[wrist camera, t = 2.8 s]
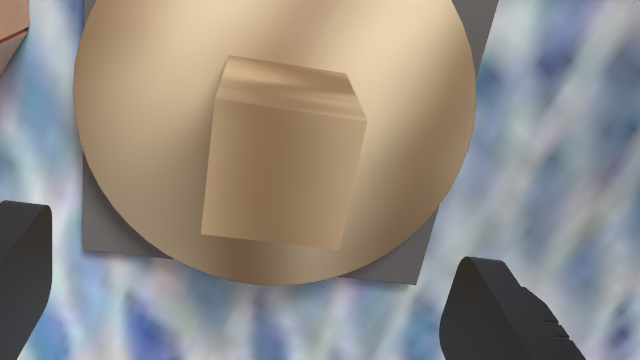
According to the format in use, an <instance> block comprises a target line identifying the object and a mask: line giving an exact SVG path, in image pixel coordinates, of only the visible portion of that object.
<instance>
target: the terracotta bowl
mask: <svg viewBox="0 0 640 360" xmlns="http://www.w3.org/2000/svg"><path fill="white" fill-rule="evenodd" d="M27 27H29V0H0V75H1V74H2V72H3V71H4V69H5V68H6V66H7V64H8V63H9V61H10V60H11V58H12V56H13V55H14V53H15V52H16V50H17V49H18V47H19V45H20V44H21V42H22V41H23V39H24V37H25V36H26V34H27V33H28V32H27V31H26V30H24V29H25V28H27Z"/></svg>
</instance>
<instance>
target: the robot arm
mask: <svg viewBox="0 0 640 360" xmlns="http://www.w3.org/2000/svg"><path fill="white" fill-rule="evenodd" d="M51 284H52V212H51V209H50V207H49V206H48V205H41V204H32V203H24V202H16V201H7V200H5V201H2V202H1V203H0V360H17V358H18V356H19V354H20V353H21V351H22V349H23V347H24V345H25V344H26V342H27V340H28V338H29V337H30V335H31V333H32V331H33V329H34V328H35V326H36V324H37V322H38V321H39V319H40V317H41V315H42V313H43V312H44V310H45V307H46V305H47V302H48V299H49V295H50V290H51ZM439 338H440V345H441V349H442V351H443V354H444V356H445V359H446V360H586V359H585V358H584V356H583V355H582V353H581V352H580V351H579V349H578V348H577V347H576V345H575V344H574V342H573V341H572V340H569V335H568V334H567V333H566V331H565V330H564V328H563V327H562V326H561V325H558V320H557V319H556V317H555V316H554V315H553V313H552V312H551V310H550V309H549V308H548V306H547V305H546V304H545V303H544V302H543V301H542V300H540V299H539V298H538V297H537V296H535V295H534V294H533V293H532V292H530V291H529V290H528V289H527V288H525V287H521V286H520V284H519V283H518V281H517V280H516V279H515V277H514V276H513V274H512V273H511V271H510V270H509V268H508V267H507V266H506V264H505V263H504V262H503V261H500V260H493V259H485V258H476V257H468V256H467V257H464V258H463V259H462V260H461V262H460V263H459V266H458V268H457V271H456V274H455V277H454V280H453V283H452V286H451V289H450V292H449V295H448V299H447V302H446V305H445V308H444V311H443V314H442V317H441V321H440V328H439Z"/></svg>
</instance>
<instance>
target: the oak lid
mask: <svg viewBox="0 0 640 360" xmlns="http://www.w3.org/2000/svg"><path fill="white" fill-rule="evenodd" d="M73 98H74V112H75V120H76V125H77V129H78V134H79V139H80V143H81V145H82V148H83V151H84V154H85V157H86V159H87V162H88V165H89V167H90V169H91V171H92V173H93V175H94V177H95V179H96V181H97V183H98V185H99V186H100V188H101V190H102V191H103V192H104V194H105V195H106V197H107V198H108V200H109V201H110V203H111V204H112V206H113V207H114V208H115V209H116V211H117V212H118V213H119V214H120V215H121V216H122V217H123V218H124V220H125V221H126V222H127V223H128V224H129V225H130V226H131V227H132V228H133V229H134V230H135V231H137V232H138V233H139V234H140V235H141V236H142V237H143V238H144V239H146V240H147V241H148V242H149V243H151V244H152V245H154V246H155V247H157V248H158V249H159V250H161V251H162V252H164V253H165V254H167V255H168V256H170V257H172V258H174V259H176V260H178V261H179V262H181V263H183V264H185V265H187V266H189V267H192V268H194V269H197V270H199V271H202V272H204V273H207V274H209V275H213V276H216V277H220V278H224V279H227V280H231V281H236V282H243V283H249V284H256V285H276V286H278V285H295V284H304V283H310V282H316V281H322V280H326V279H329V278H333V277H336V276H340V275H343V274H346V273H349V272H351V271H353V270H356V269H358V268H361V267H363V266H366V265H367V264H369V263H371V262H373V261H375V260H377V259H378V258H380V257H382V256H384V255H386V254H387V253H389V252H390V251H391V250H393V249H394V248H396V247H397V246H398V245H400V244H401V243H403V242H404V241H405V240H406V239H407V238H409V237H410V236H411V235H412V234H413V233H414V232H415V231H416V230H418V229H419V228H420V227H421V226H422V225H423V224H424V222H425V221H426V220H427V219H428V218H429V217H430V216H431V215H432V213H433V212H434V211H435V210H436V209H437V207H438V206H439V204H440V203H441V202H442V200H443V199H444V197H445V196H446V194H447V193H448V191H449V190H450V188H451V186H452V184H453V182H454V180H455V178H456V177H457V175H458V173H459V171H460V169H461V166H462V163H463V161H464V158H465V155H466V152H467V150H468V147H469V143H470V138H471V134H472V130H473V125H474V117H475V107H476V81H475V70H474V64H473V59H472V53H471V48H470V45H469V42H468V39H467V36H466V33H465V29H464V26H463V24H462V21H461V19H460V17H459V15H458V13H457V11H456V9H455V7H454V5H453V3H452V1H451V0H97V1H96V3H95V5H94V6H93V8H92V10H91V12H90V14H89V17H88V20H87V22H86V25H85V27H84V30H83V33H82V35H81V38H80V43H79V47H78V52H77V56H76V61H75V69H74V83H73Z"/></svg>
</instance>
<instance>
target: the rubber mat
mask: <svg viewBox="0 0 640 360" xmlns="http://www.w3.org/2000/svg"><path fill="white" fill-rule="evenodd" d="M96 1H97V0H84V27H85V25H86V22H87V20H88V17H89V14H90V12H91V10H92V8H93V6H94V5H95V3H96ZM451 1H452V3H453V5H454V7H455V9H456V11H457V13H458V15H459V17H460V19H461V21H462V24H463V26H464V29H465V33H466V36H467V39H468V42H469V45H470V48H471V53H472V59H473V64H474V70H475V80H476V76H477V73H478V69H479V66H480V63H481V59H482V56H483V52H484V49H485V45H486V42H487V38H488V35H489V32H490V28H491V25H492V21H493V18H494V14H495V11H496V7H497V4H498V1H499V0H451ZM438 207H439V206H438ZM438 207H437V209H436V210H435V211H434V212H433V213H432V215H431V216H430V217H429V218H428V219H427V220H426V221H425V222H424V224H423V225H422V226H421V227H420V228H419V229H418V230H416V231H415V232H414V233H413V234H412V235H411V236H410V237H409V238H407V239H406V240H405V241H404V242H403V243H401V244H400V245H398V246H397V247H396V248H394V249H393V250H391V251H390V252H389V253H387V254H386V255H384V256H382V257H380V258H378V259H377V260H375V261H373V262H371V263H369V264H367V265H366V266H363V267H361V268H358V269H356V270H353V271H351V272H349V273H346V274H343V275H340V276H336V277H345V278H355V279H364V280H374V281H383V282H392V283H402V284H411V285H416V283H417V280H418V276H419V273H420V269H421V266H422V262H423V259H424V255H425V252H426V249H427V245H428V242H429V238H430V235H431V231H432V228H433V224H434V221H435V218H436V214H437V211H438ZM83 250H93V251H102V252H111V253H121V254H130V255H140V256H149V257H158V258H168V259H174V258H172V257H170V256H168V255H167V254H165V253H164V252H162V251H161V250H159V249H158V248H157V247H155V246H154V245H152V244H151V243H149V242H148V241H147V240H146V239H144V238H143V237H142V236H141V235H140V234H139V233H138V232H137V231H135V230H134V229H133V228H132V227H131V226H130V225H129V224H128V223H127V222H126V221H125V220H124V218H123V217H122V216H121V215H120V214H119V213H118V212H117V211H116V209H115V208H114V207H113V206H112V204H111V203H110V201H109V200H108V198H107V197H106V195H105V194H104V192H103V191H102V190H101V188H100V186H99V185H98V183H97V181H96V179H95V177H94V175H93V173H92V171H91V169H90V167H89V165H88V162H87V159H86V157H85V154H84V151H83Z"/></svg>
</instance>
